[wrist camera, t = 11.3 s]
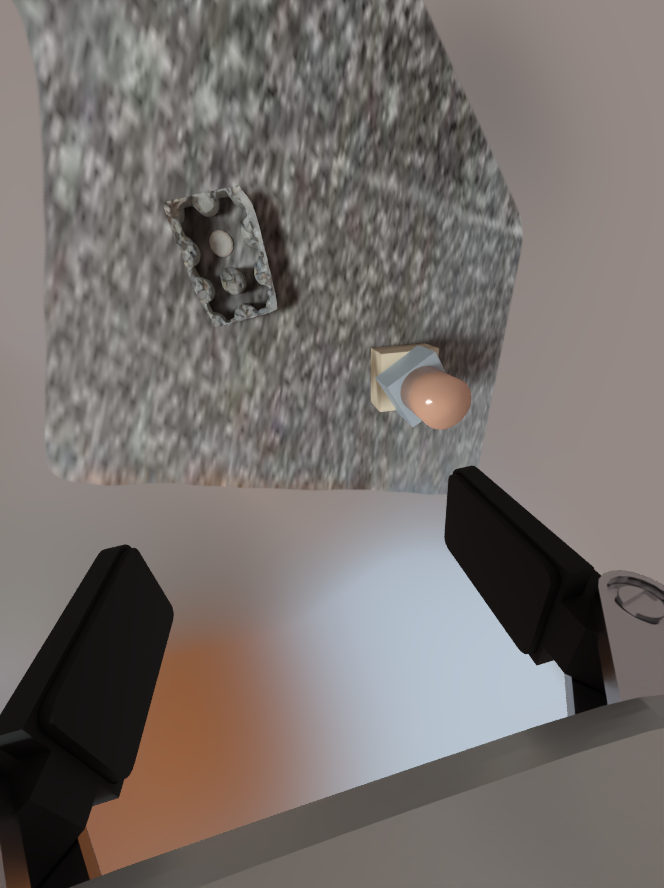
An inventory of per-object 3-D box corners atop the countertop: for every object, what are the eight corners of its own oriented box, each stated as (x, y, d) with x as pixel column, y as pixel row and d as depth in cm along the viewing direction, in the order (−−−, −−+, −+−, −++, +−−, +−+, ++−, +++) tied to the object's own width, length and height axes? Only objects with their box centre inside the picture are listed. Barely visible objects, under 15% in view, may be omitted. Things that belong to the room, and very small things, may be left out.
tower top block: (375, 377, 36) (387, 387, 32) (418, 344, 35) (435, 351, 31) (399, 414, 39) (412, 427, 35) (439, 385, 38) (457, 395, 34)
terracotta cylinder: (401, 368, 32) (423, 381, 27) (446, 363, 32) (475, 375, 28) (399, 413, 34) (419, 432, 29) (441, 408, 35) (467, 425, 30)
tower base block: (370, 347, 38) (381, 354, 35) (423, 342, 39) (439, 348, 36) (370, 401, 41) (380, 412, 38) (419, 395, 42) (433, 405, 39)
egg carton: (169, 205, 28) (155, 194, 25) (249, 191, 29) (247, 177, 25) (212, 326, 34) (205, 330, 30) (279, 311, 34) (281, 314, 31)
